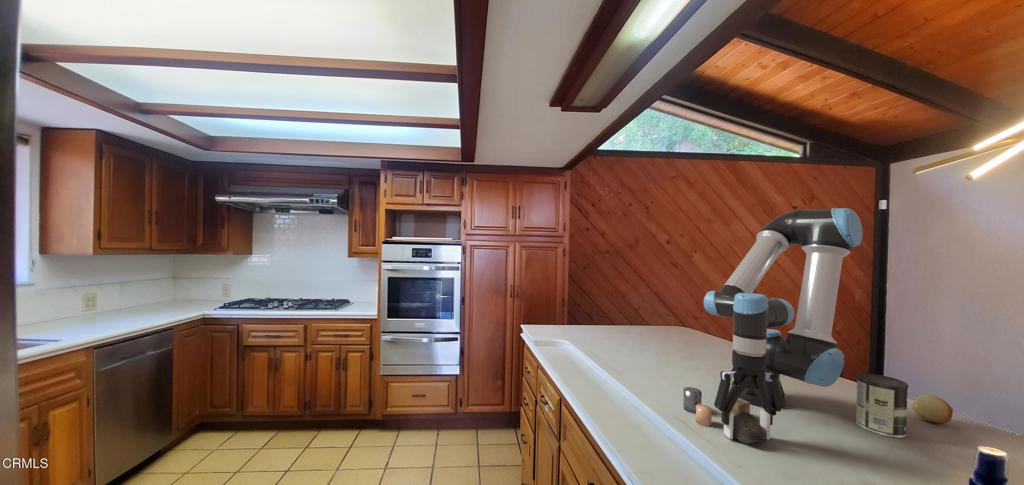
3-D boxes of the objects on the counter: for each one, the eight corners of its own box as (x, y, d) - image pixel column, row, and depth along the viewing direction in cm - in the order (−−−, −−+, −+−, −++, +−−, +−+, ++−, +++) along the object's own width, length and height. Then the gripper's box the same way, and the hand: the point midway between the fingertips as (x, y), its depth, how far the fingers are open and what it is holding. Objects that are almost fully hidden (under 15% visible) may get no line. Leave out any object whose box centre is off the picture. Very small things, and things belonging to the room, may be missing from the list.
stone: (729, 440, 102) (710, 419, 100) (751, 419, 102) (732, 397, 100) (758, 467, 93) (738, 444, 90) (782, 443, 93) (762, 420, 90)
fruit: (920, 414, 113) (921, 388, 113) (959, 427, 105) (960, 400, 105) (904, 416, 111) (905, 390, 111) (943, 430, 103) (944, 402, 103)
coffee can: (891, 423, 106) (893, 375, 106) (916, 441, 97) (918, 389, 97) (847, 416, 110) (849, 370, 110) (867, 433, 100) (869, 383, 100)
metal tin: (695, 405, 115) (695, 386, 115) (704, 413, 110) (705, 393, 110) (680, 406, 114) (680, 387, 114) (688, 413, 109) (689, 394, 109)
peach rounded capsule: (706, 419, 106) (706, 404, 106) (714, 426, 102) (714, 410, 102) (693, 419, 106) (693, 404, 106) (700, 426, 102) (700, 410, 102)
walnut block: (733, 411, 112) (734, 395, 112) (749, 419, 107) (750, 402, 107) (722, 414, 110) (722, 397, 110) (737, 422, 105) (738, 405, 105)
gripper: (778, 348, 100) (776, 429, 100) (700, 347, 99) (698, 428, 100) (800, 357, 93) (798, 444, 93) (716, 356, 92) (714, 444, 92)
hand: (746, 436), depth 96 cm, fingers open, 9 cm apart
